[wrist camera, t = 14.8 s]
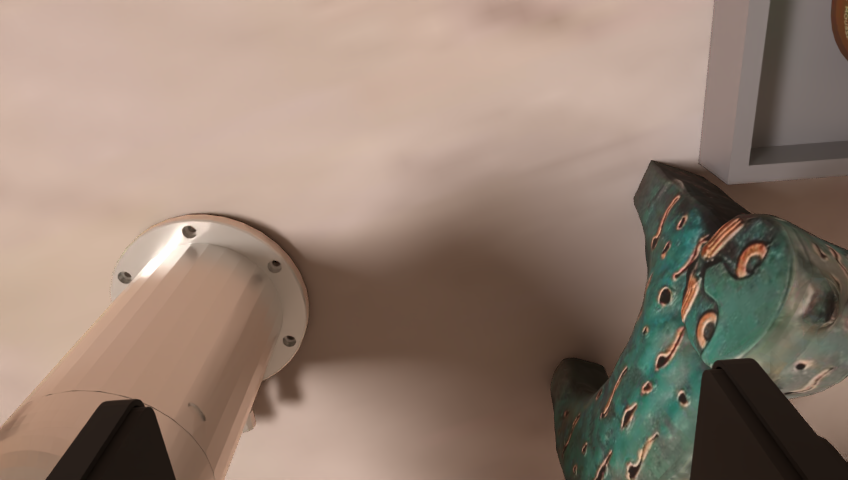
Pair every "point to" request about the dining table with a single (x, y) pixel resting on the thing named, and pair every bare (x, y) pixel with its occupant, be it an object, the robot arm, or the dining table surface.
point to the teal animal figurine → (702, 329)
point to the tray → (774, 93)
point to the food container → (840, 25)
